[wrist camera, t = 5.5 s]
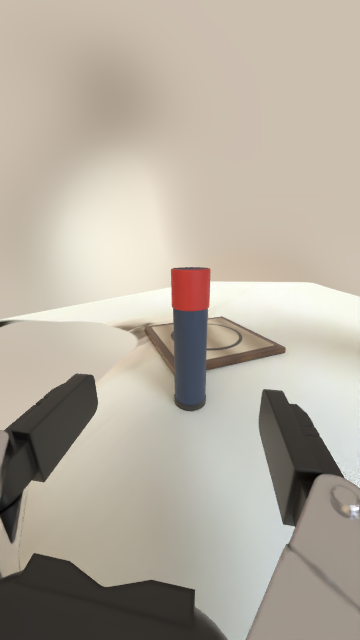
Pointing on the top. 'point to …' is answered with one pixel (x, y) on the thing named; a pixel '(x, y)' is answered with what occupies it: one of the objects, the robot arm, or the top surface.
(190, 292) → the marker
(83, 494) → the top surface
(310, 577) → the robot arm
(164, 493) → the top surface
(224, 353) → the sketch board
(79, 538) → the top surface
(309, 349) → the top surface
